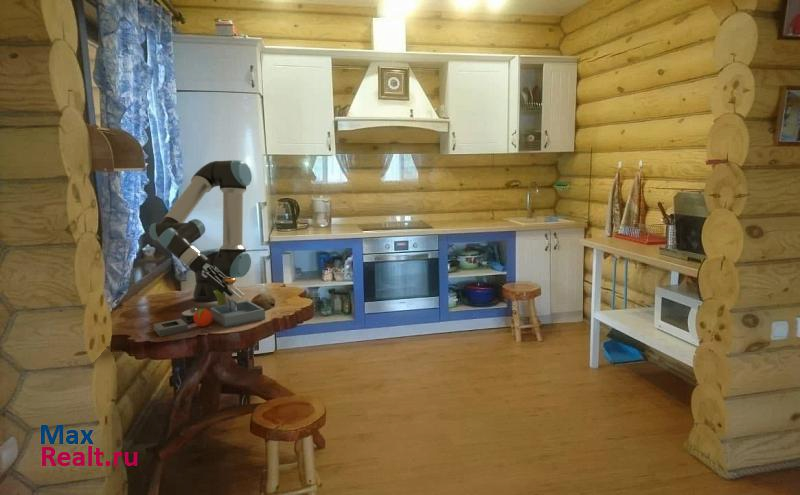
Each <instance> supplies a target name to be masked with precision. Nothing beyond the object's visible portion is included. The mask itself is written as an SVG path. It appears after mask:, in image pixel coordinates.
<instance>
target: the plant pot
mask: <svg viewBox="0 0 800 495" xmlns="http://www.w3.org/2000/svg"><path fill="white" fill-rule="evenodd" d="M214 293H215V295H216V298H217V300H216V301H217V306H222V305H226V298H225V293H224V292H223V293H220V291H218V290H215V291H214Z"/></svg>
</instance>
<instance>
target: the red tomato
mask: <svg viewBox="0 0 800 495" xmlns="http://www.w3.org/2000/svg"><path fill="white" fill-rule="evenodd" d="M193 319H194V321H193V322H194V323H195V325H197V326H198V327H207V326H209V325H210V324H211V322H213V320H214V319H213V316H212V313H211V312H210V310H209V309H207V308H203V307H202V308H200V309H199V310H198V311H196V313H195V314H194V318H193Z"/></svg>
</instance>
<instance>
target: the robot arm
mask: <svg viewBox="0 0 800 495" xmlns="http://www.w3.org/2000/svg"><path fill="white" fill-rule="evenodd" d="M252 175H253V174H252V171H251V168H250V166H249V165H248V164H247V162H246V161H243V160H239V159H238V160H235V159H231V160H213V161H211V162H208V163H206V164H204V166H201V168H199V169H198V170H197V171H196V172H195V174H193V176H192V177H191V179H190V184H189V185H188V186H187V188H185V190H184V192H182V194H180V196H179V197H178V199H177V200H176V201H175V203H174V204H173V206H172V207H171V208H170V209H169V210H168V211H167V213H166V215H165V216H164V217H163V218H162V219H161V221H160V222H154V223H152V224H151V225H150V226H149V229H148V231H149V232H148V233H149V237H150V238H151V239H152V240H154V241H158V243H159V244H160V245H161V246H162V247H164V249H165V250H166V251H168V252H169V253H170V254H172V255H173V256H175V258H176V259H177V260H179V261H180V263H181V264H184V265H185V266H186V267H187V266H188V268H189V269H190V270H191V271H192V272H193V273H194V278H195V286H194V289H193V294H192V297H193V301H195V302H213V301H217V298H216V295H215V293H214V291H215V290H218V291H220V293H223V292H224V293H226V294H227V295H228V296H229V297H230V298H232V299H233V300H234V301H235V302H236V303H238V302H240V300H241V299H242V297H244V296H245V293H243V292H242V291H241V290H240V289H238V287H237V286H235V291H236V292H235V291H233V290H232V289H231V288H230V287H227V286H226V285H225V284H224V282H222V279H224V278H230V277H234V278H236V279H237V278H242V277H245V276H246V275H248V272H249V271H250V269H251V266H252V258H251V255H250V254H249V253H248V252H247V250H246V247H245V246H244V245H243V227H244V226H243V221H244V220H243V217H244V216H243V214H244V212H243V205H244V202H243V201H244V200H243V199H244V197H243V195H244V194H245V192H246V191H247V187H248V186H249V185H251V182H252V179H253V178H252ZM216 187H219V191H221V192H222V193H223V194H222V197H223V198H222V200H223V201H222V202H223V203H222V205H223V206H222V207H223V208H222V245H221V246H220V247H219V248H218V247H217V248H209V249H203V250H199V249H198V248H197V247H196V246H194V245H193V243H194V242H196V241H197V240H198V239H200V238H201V237H202V236H203V235H204V234H205V232H206V227H205V224H204V222H202V220H200V219H198V218H194V219H191V220H188V221H187V219H188V218H189V216H190V215H191V214H192V212H193V211H194V210H195V208H196V207H197V205H198V204H199V203H200V201H201V200H202V199H203V197H204V196H206V193H210V191H211V190H212V189H213V188H216ZM186 221H187V222H186Z"/></svg>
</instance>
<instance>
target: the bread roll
mask: <svg viewBox="0 0 800 495" xmlns="http://www.w3.org/2000/svg"><path fill="white" fill-rule="evenodd" d="M250 302H252V303H253V304H255V305H257V306H259V307H261V308H263V309H266V310H269V309H270V308H271V309H273V308H274V307H275V305H276V300H275V298H274V297H273V295H270V294H269V293H263V292H262V293H259V294H256V295H255V296H254V297H253V298H252V299H251V301H250ZM271 309H270V310H271Z"/></svg>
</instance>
